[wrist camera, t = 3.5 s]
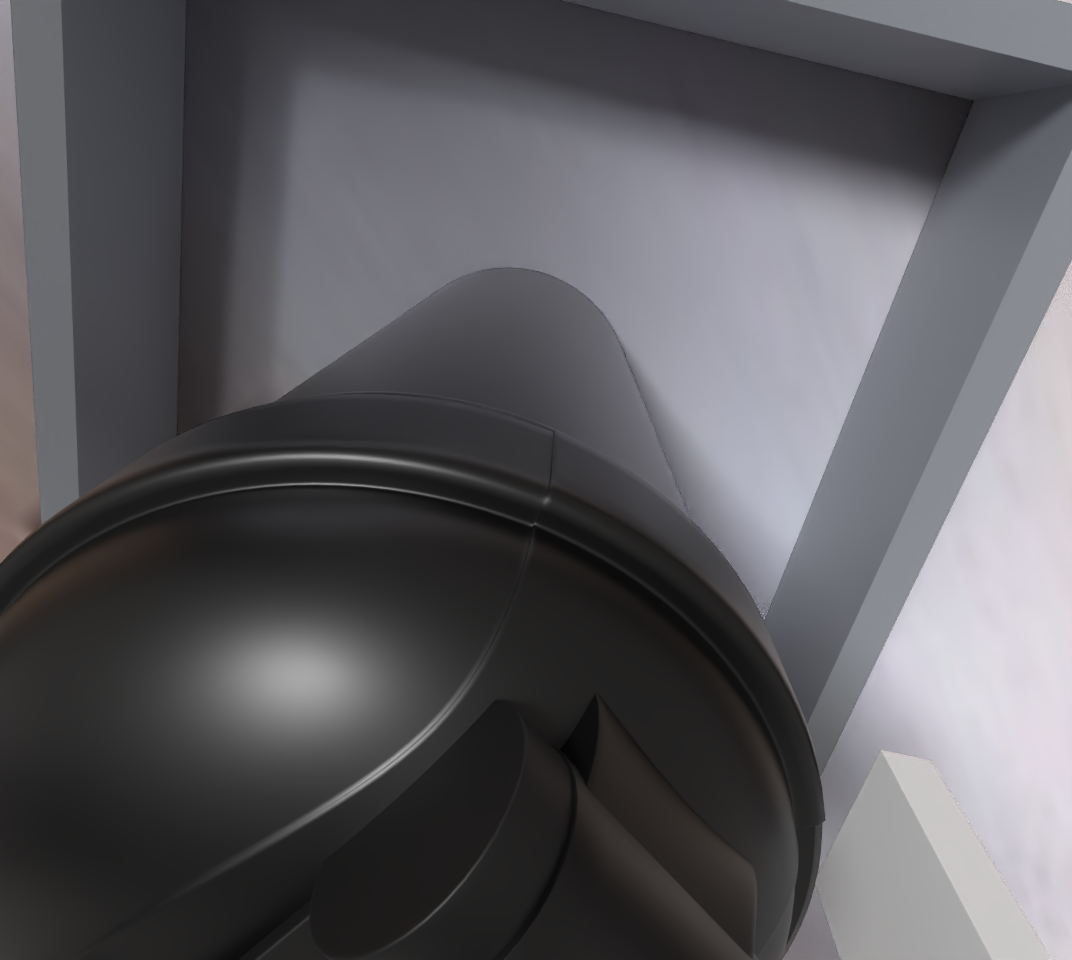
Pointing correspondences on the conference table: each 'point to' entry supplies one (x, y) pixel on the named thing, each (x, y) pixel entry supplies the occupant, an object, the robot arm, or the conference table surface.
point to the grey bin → (683, 3)
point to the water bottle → (402, 677)
